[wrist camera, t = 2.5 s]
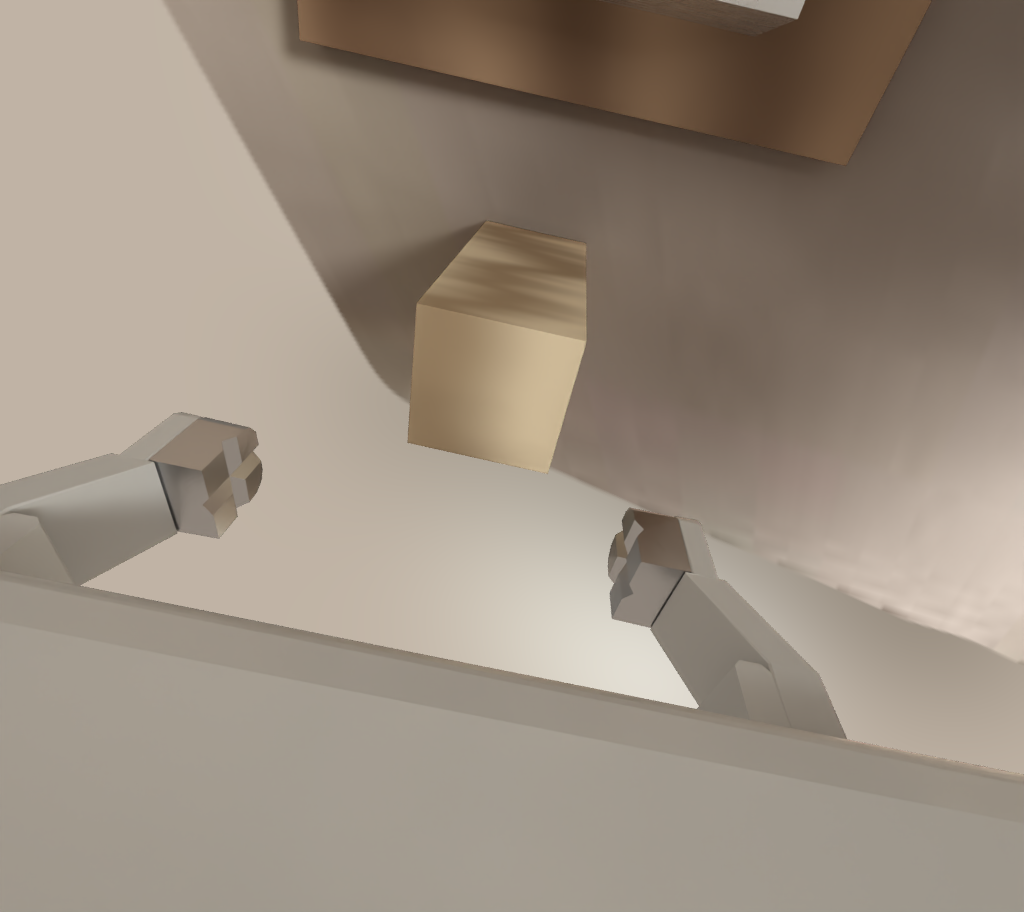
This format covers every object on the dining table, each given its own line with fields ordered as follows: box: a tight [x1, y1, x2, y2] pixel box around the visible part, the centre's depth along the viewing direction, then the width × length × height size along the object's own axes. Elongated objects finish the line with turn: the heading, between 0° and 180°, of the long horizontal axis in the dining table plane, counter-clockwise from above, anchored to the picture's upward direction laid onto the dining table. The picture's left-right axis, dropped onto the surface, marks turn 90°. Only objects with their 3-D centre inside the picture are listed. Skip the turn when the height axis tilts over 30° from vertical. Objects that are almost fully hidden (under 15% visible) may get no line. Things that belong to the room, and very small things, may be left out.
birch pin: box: [408, 221, 587, 474], centre depth 18 cm, size 4×4×11 cm
